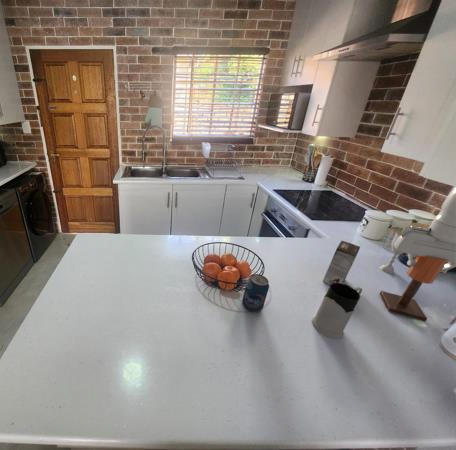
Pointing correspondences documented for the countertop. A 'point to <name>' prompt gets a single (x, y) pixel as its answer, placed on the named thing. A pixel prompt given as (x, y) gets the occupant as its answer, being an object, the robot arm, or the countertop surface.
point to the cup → (426, 269)
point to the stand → (404, 302)
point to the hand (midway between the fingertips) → (425, 268)
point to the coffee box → (341, 263)
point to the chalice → (388, 267)
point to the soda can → (255, 293)
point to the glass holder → (336, 309)
